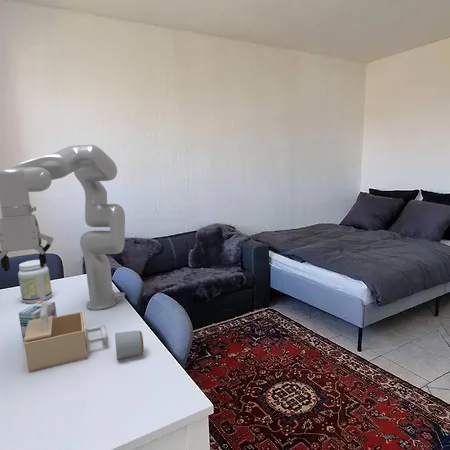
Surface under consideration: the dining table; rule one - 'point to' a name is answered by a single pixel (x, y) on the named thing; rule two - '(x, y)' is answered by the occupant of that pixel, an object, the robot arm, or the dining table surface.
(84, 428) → the dining table surface
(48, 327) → the flap
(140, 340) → the ceramic mug
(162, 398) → the dining table surface
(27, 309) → the light bulb box
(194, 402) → the dining table surface
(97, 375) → the dining table surface
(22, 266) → the supplement tub
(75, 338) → the carton
